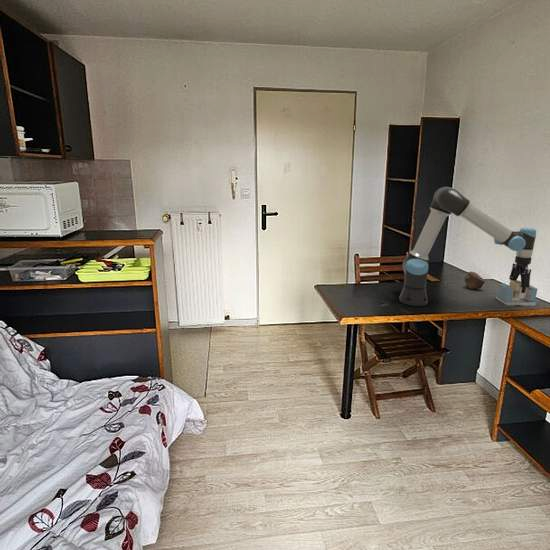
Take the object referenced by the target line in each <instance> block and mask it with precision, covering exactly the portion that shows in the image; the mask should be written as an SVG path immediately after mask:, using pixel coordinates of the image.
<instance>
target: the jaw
mask: <svg viewBox="0 0 550 550" xmlns="http://www.w3.org/2000/svg"><path fill="white" fill-rule="evenodd" d="M513 291H514V290H513V288H511V287H509V285H507V284H505V283H499V285H498V291H497V295H496V296H498V297H499V298H501V299H502V300H504V301H505V302H506V301H511V300H512V297H513Z"/></svg>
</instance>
